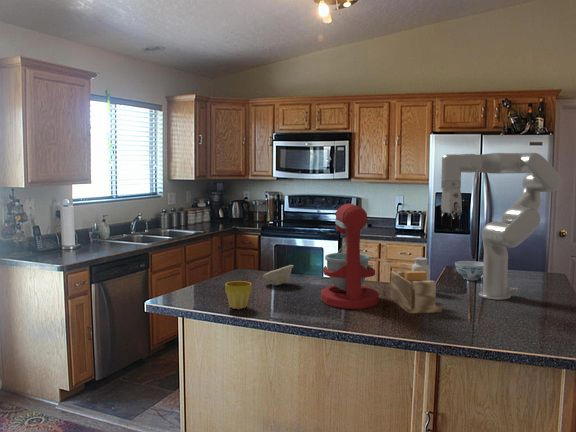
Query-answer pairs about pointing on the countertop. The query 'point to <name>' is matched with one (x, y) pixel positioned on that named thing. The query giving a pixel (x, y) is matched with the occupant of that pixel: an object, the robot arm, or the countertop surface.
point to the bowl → (279, 275)
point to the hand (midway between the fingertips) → (450, 227)
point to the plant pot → (238, 293)
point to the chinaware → (469, 269)
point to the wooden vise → (414, 294)
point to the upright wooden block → (415, 276)
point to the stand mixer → (349, 264)
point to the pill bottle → (422, 266)
